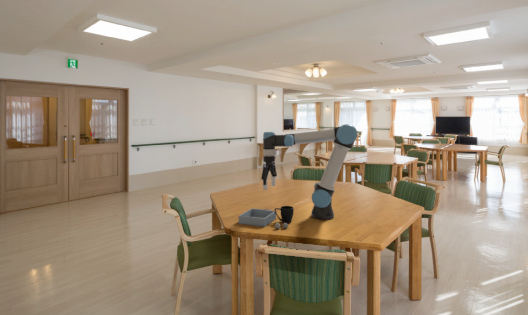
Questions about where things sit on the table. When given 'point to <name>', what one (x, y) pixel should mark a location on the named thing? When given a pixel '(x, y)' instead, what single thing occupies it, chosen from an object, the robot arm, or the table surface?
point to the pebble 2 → (285, 225)
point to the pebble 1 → (277, 225)
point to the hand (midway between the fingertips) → (269, 187)
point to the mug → (286, 213)
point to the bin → (257, 217)
